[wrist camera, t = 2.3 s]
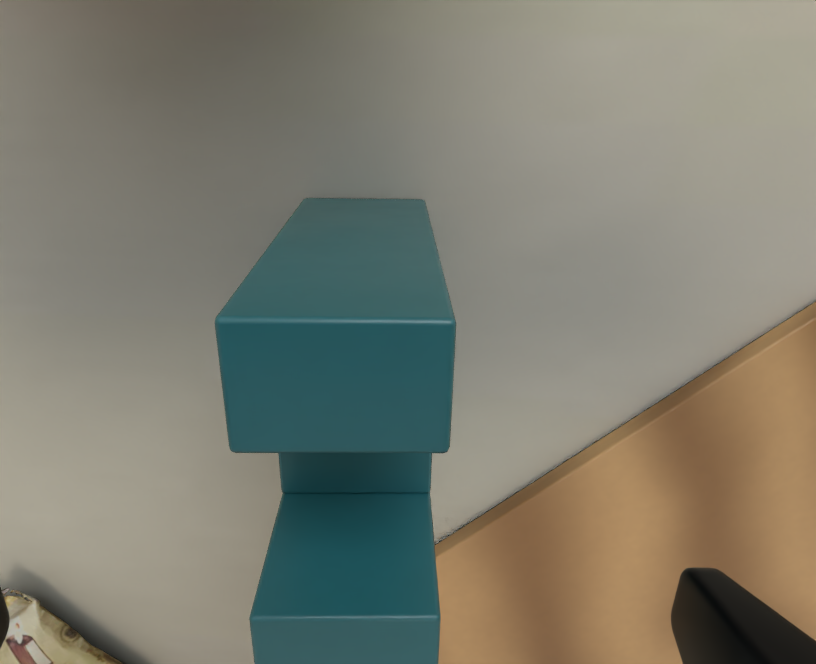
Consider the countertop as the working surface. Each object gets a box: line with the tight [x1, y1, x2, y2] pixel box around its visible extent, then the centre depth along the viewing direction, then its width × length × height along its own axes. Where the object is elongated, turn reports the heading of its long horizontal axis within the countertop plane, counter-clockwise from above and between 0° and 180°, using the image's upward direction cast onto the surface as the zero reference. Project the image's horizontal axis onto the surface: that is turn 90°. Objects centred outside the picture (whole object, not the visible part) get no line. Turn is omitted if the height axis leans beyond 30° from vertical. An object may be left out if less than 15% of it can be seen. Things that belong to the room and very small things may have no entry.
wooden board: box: [435, 302, 816, 664], centre depth 19 cm, size 20×12×1 cm, turn 129°
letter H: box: [215, 198, 456, 664], centre depth 12 cm, size 3×7×8 cm, turn 179°
